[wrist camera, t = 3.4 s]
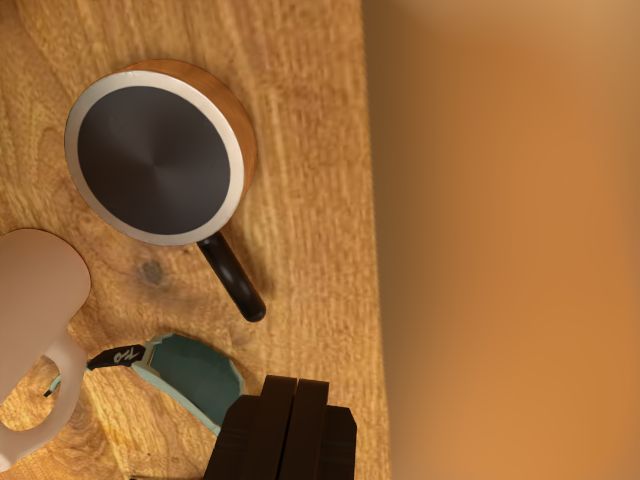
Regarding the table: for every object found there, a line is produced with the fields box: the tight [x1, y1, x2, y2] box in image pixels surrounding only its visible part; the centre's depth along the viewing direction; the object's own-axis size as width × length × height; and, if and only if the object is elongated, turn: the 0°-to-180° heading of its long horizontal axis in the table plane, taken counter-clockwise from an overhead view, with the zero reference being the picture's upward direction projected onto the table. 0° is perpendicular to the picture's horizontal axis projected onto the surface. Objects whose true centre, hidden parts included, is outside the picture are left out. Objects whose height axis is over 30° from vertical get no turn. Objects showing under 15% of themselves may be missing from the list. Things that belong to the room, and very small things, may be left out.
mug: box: [0, 229, 91, 472], centre depth 28 cm, size 10×7×12 cm, turn 38°
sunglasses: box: [44, 332, 245, 480], centre depth 36 cm, size 14×15×5 cm
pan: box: [64, 59, 266, 323], centre depth 28 cm, size 15×9×3 cm, turn 26°
